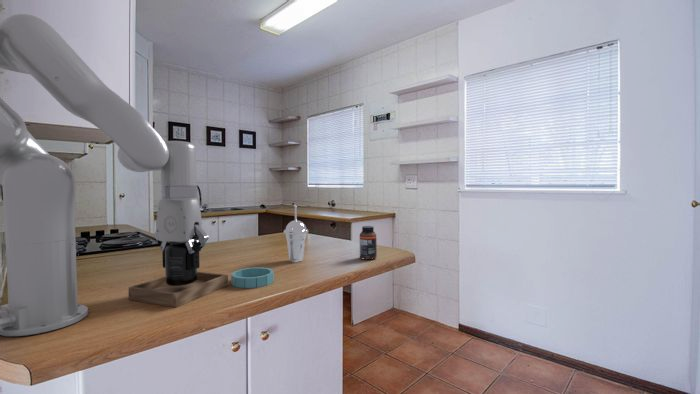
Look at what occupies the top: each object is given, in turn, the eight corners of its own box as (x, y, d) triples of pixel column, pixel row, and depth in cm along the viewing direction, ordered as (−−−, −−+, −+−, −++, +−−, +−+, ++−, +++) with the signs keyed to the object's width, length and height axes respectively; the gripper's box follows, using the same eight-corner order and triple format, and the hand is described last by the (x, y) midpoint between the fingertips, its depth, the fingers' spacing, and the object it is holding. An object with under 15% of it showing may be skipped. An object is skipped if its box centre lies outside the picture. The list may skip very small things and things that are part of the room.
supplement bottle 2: (368, 255, 120) (368, 225, 120) (380, 258, 115) (380, 226, 115) (356, 258, 116) (356, 226, 116) (367, 261, 112) (367, 228, 111)
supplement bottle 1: (203, 280, 81) (202, 231, 81) (178, 288, 75) (177, 235, 74) (184, 277, 84) (183, 230, 84) (158, 284, 78) (157, 233, 77)
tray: (176, 307, 70) (175, 294, 70) (128, 299, 74) (128, 287, 74) (228, 285, 85) (227, 274, 85) (185, 280, 89) (185, 270, 89)
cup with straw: (313, 259, 114) (313, 201, 113) (298, 265, 106) (298, 203, 105) (293, 257, 118) (293, 201, 117) (277, 262, 110) (276, 202, 109)
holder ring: (257, 289, 81) (257, 279, 81) (223, 285, 85) (222, 275, 85) (280, 278, 91) (280, 269, 91) (248, 274, 95) (248, 266, 95)
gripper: (138, 193, 78) (140, 268, 79) (195, 194, 72) (197, 275, 73) (165, 193, 85) (167, 261, 86) (220, 193, 79) (221, 267, 80)
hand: (181, 267), depth 79 cm, fingers closed on supplement bottle 1, 6 cm apart
